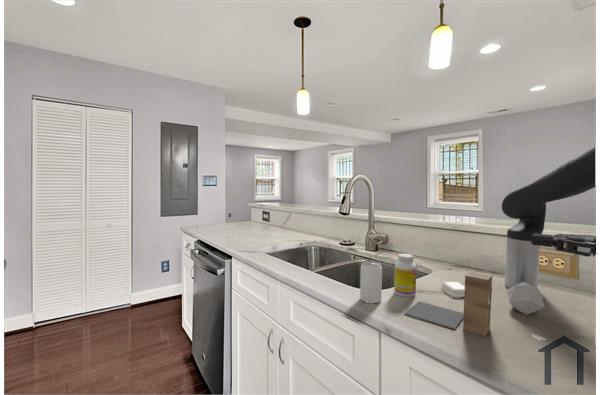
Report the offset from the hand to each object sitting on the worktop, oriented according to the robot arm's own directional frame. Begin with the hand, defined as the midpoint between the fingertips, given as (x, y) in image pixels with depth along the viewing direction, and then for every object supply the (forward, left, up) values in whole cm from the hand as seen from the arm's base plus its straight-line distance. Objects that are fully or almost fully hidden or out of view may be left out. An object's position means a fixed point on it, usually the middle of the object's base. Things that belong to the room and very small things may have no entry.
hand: (532, 239), depth 72 cm
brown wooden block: (+3, -10, -24) cm, 26 cm away
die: (-18, -2, -24) cm, 30 cm away
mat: (+2, -21, -24) cm, 32 cm away
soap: (-20, -21, -25) cm, 38 cm away
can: (+4, -39, -24) cm, 46 cm away
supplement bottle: (-8, -33, -24) cm, 42 cm away
